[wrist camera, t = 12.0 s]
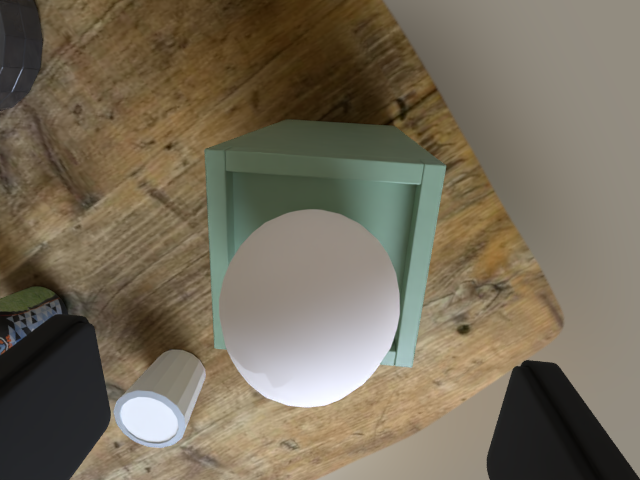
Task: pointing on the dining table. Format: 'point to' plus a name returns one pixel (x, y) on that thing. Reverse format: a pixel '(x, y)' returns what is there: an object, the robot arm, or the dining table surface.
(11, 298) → the beverage can
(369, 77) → the dining table surface
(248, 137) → the stand
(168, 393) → the white cylinder
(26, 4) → the pan
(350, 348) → the egg
